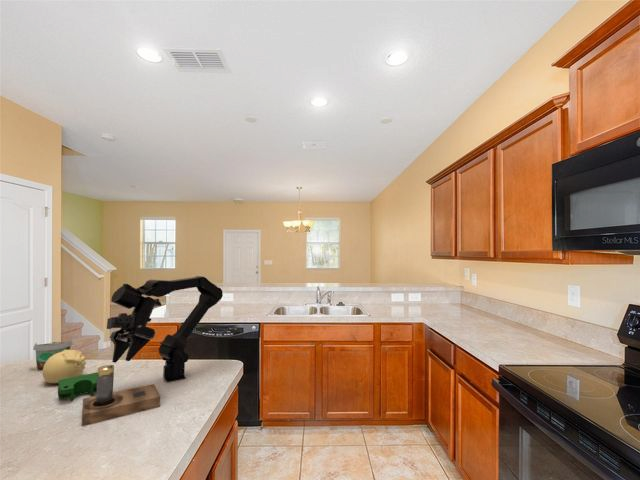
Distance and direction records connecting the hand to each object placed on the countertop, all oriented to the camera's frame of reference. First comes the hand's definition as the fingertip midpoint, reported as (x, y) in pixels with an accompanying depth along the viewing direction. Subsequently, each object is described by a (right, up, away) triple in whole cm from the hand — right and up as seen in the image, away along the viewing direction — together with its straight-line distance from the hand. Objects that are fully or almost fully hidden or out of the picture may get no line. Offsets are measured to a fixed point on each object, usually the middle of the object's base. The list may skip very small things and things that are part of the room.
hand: (120, 361), depth 98 cm
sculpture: (-30, -13, +15) cm, 36 cm away
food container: (-44, -13, +25) cm, 53 cm away
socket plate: (+3, -13, -3) cm, 13 cm away
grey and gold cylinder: (-1, -12, -6) cm, 14 cm away
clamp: (-15, -13, +3) cm, 20 cm away
